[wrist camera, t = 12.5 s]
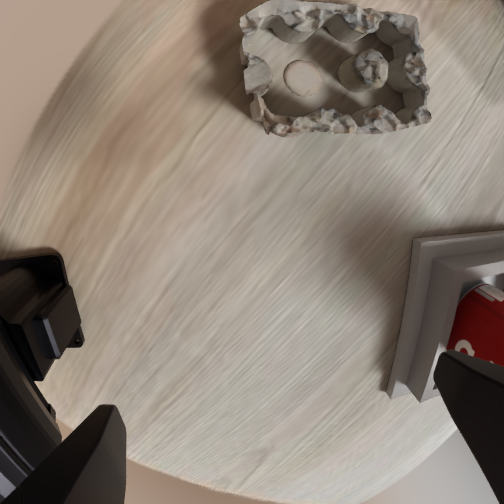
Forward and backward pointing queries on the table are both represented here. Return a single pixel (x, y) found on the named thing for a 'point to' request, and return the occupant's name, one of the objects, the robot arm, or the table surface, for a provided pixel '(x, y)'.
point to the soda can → (480, 324)
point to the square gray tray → (439, 302)
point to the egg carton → (349, 72)
